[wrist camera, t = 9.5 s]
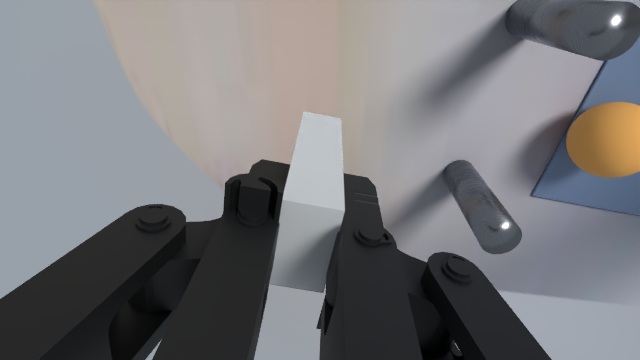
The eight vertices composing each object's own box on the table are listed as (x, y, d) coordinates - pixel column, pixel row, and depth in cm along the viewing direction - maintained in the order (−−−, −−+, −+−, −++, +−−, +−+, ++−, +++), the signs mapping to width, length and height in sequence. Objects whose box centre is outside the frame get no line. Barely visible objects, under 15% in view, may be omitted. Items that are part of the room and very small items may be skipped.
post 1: (478, 163, 30) (529, 225, 23) (467, 189, 32) (511, 257, 24) (449, 157, 30) (489, 218, 22) (438, 183, 32) (473, 250, 24)
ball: (584, 93, 24) (597, 88, 28) (544, 163, 27) (560, 151, 31) (685, 124, 21) (684, 115, 25) (628, 200, 24) (635, 181, 28)
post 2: (552, 0, 24) (655, 8, 16) (534, 40, 26) (622, 65, 18) (515, -8, 24) (602, -4, 16) (499, 32, 25) (573, 54, 18)
